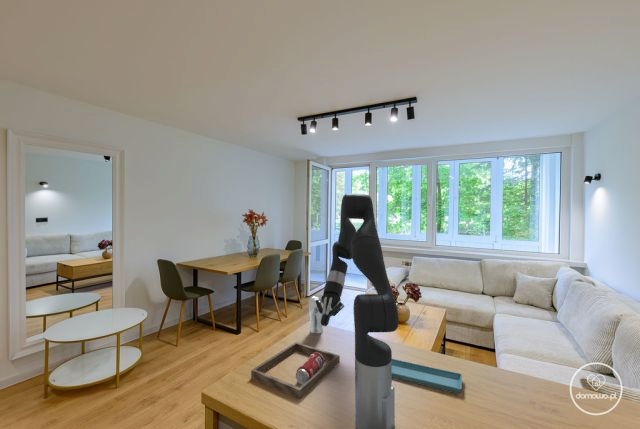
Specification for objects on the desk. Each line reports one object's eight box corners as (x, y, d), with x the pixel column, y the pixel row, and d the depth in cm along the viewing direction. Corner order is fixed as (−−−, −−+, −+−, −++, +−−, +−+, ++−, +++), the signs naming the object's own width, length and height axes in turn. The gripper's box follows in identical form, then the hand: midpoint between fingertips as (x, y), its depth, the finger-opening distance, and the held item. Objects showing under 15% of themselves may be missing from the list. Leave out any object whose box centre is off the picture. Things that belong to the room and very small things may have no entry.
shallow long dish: (374, 374, 96) (374, 367, 96) (382, 362, 104) (382, 355, 104) (461, 397, 84) (461, 389, 84) (462, 381, 92) (462, 373, 92)
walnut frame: (339, 362, 103) (339, 355, 103) (299, 398, 83) (299, 390, 83) (295, 348, 114) (295, 342, 114) (251, 377, 94) (251, 370, 94)
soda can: (311, 366, 101) (295, 384, 90) (310, 351, 102) (293, 368, 91) (325, 367, 99) (310, 386, 88) (323, 352, 99) (308, 369, 88)
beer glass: (306, 329, 132) (306, 297, 132) (320, 327, 135) (320, 295, 135) (312, 335, 126) (312, 301, 125) (326, 332, 129) (326, 299, 128)
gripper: (317, 279, 121) (305, 319, 112) (345, 280, 114) (334, 324, 104) (325, 286, 126) (314, 326, 116) (352, 288, 119) (342, 331, 109)
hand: (323, 325), depth 110 cm, fingers closed
